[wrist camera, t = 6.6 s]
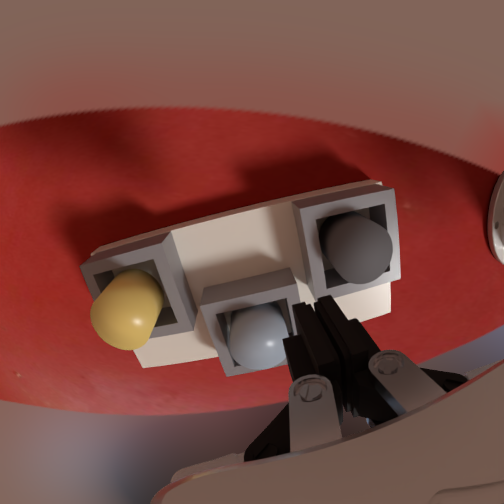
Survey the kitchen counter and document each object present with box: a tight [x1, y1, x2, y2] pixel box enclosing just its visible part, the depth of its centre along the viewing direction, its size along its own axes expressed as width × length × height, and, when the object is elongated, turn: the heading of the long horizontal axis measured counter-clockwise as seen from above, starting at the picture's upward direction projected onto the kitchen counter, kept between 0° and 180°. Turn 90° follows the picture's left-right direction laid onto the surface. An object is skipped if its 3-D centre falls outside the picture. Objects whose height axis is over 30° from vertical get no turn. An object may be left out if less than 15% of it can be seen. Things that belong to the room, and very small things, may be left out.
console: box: [79, 179, 400, 376], centre depth 23 cm, size 24×12×5 cm, turn 103°
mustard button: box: [90, 269, 164, 350], centre depth 19 cm, size 4×4×4 cm
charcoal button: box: [319, 211, 393, 284], centre depth 20 cm, size 4×4×4 cm
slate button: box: [230, 301, 289, 370], centre depth 22 cm, size 4×4×4 cm
